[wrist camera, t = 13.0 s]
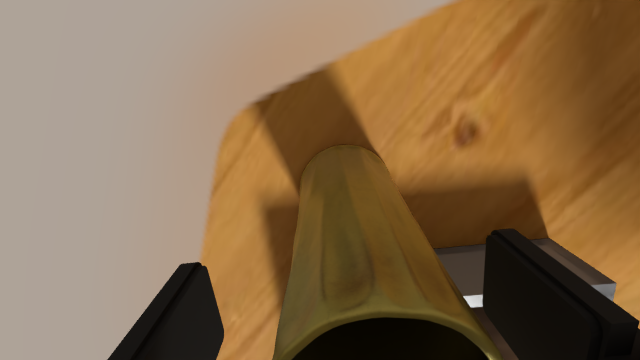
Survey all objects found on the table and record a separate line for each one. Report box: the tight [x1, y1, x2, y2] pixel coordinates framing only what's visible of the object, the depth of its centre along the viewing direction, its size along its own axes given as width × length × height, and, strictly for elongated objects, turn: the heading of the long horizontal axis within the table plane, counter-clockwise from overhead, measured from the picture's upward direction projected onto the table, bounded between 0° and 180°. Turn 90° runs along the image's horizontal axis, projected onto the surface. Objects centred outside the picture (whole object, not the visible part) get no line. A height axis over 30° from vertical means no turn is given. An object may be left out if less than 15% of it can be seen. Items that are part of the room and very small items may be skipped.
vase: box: [272, 145, 504, 360], centre depth 13 cm, size 6×6×14 cm
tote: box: [433, 238, 616, 307], centre depth 21 cm, size 18×14×5 cm
